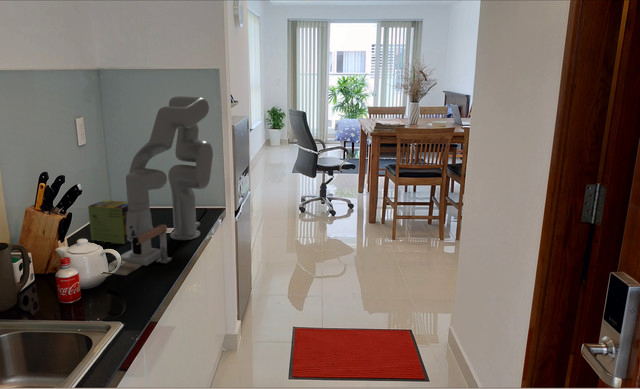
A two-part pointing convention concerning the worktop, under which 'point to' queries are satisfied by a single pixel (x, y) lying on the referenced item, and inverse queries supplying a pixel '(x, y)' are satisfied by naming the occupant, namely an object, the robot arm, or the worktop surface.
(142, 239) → the clip
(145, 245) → the plug
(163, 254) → the clip post
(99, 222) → the protein box
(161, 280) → the worktop surface
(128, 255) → the socket block
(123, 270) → the birch board
